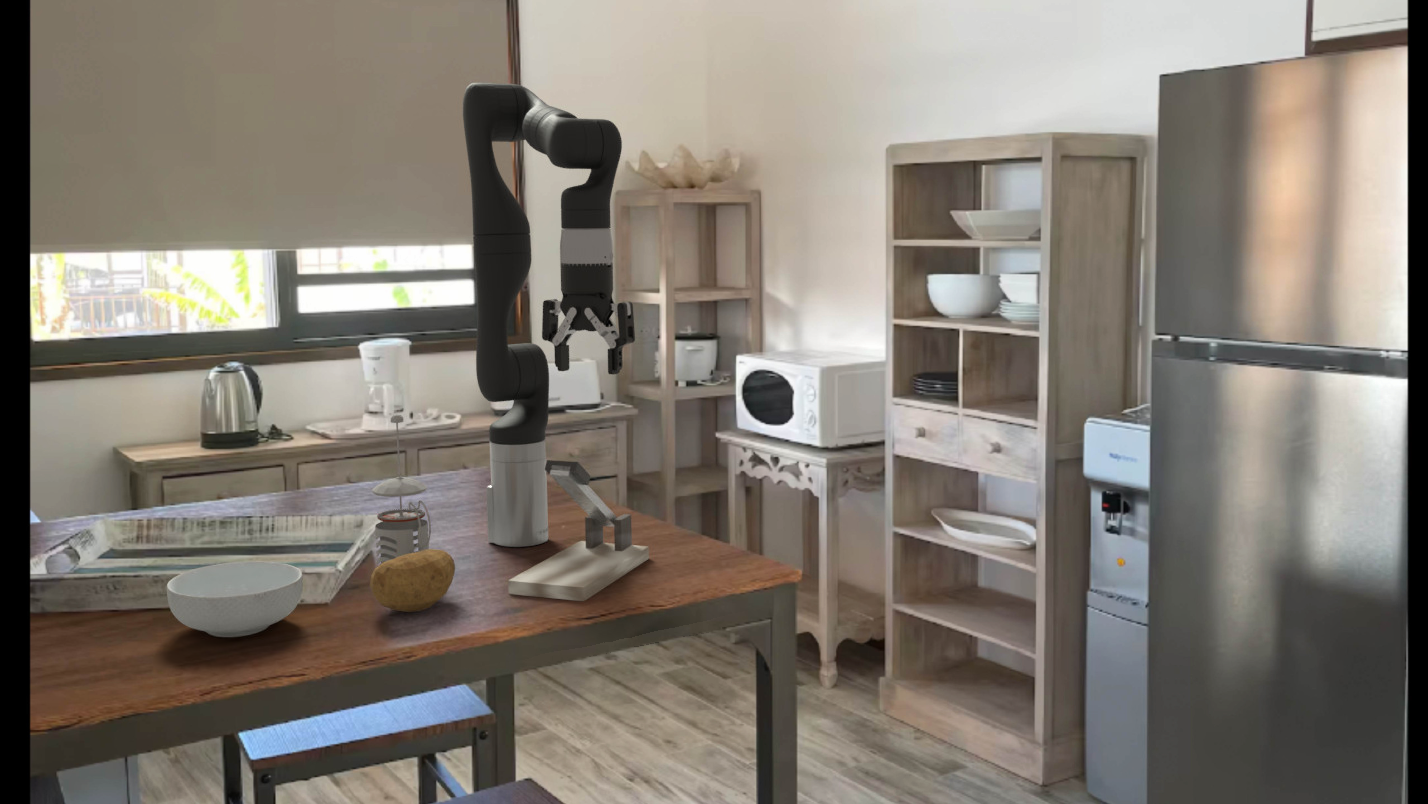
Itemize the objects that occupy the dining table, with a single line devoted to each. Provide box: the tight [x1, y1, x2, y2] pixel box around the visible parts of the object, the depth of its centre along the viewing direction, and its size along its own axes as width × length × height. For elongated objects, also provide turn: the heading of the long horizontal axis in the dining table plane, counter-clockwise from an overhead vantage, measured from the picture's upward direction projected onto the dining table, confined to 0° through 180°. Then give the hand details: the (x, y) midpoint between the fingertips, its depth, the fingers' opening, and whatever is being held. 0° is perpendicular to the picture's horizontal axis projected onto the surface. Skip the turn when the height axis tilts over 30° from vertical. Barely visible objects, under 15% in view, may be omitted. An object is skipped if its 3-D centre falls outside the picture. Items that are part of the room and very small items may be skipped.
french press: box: [371, 414, 432, 565], centre depth 193 cm, size 10×12×25 cm
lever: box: [545, 459, 618, 528], centre depth 195 cm, size 5×21×2 cm
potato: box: [369, 548, 456, 613], centre depth 179 cm, size 10×14×8 cm
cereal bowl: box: [166, 560, 303, 638], centre depth 171 cm, size 17×17×7 cm
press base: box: [507, 513, 650, 602], centre depth 194 cm, size 12×24×7 cm, turn 160°
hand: (588, 372), depth 187 cm, fingers open, 8 cm apart
